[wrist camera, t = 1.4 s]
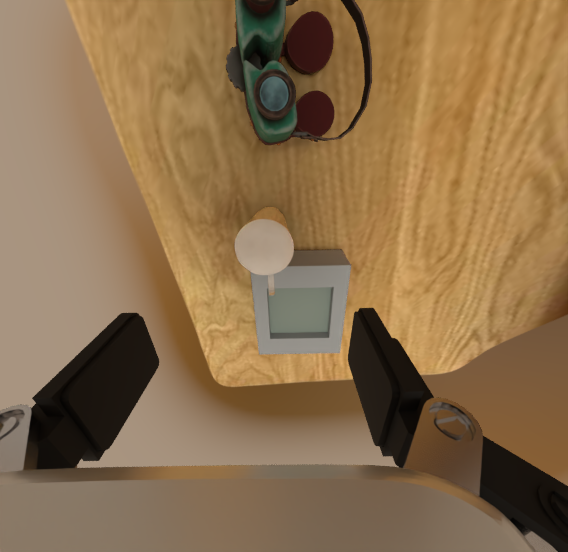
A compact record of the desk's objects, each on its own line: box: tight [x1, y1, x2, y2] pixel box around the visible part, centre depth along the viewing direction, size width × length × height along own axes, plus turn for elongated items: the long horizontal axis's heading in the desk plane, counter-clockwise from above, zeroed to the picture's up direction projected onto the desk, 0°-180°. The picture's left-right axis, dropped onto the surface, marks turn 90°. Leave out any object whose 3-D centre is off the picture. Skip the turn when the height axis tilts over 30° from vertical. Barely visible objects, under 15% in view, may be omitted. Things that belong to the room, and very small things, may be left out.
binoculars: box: [226, 0, 372, 145], centre depth 15 cm, size 9×11×10 cm
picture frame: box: [251, 249, 351, 354], centre depth 27 cm, size 12×10×4 cm
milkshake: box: [235, 207, 294, 296], centre depth 21 cm, size 5×5×10 cm
